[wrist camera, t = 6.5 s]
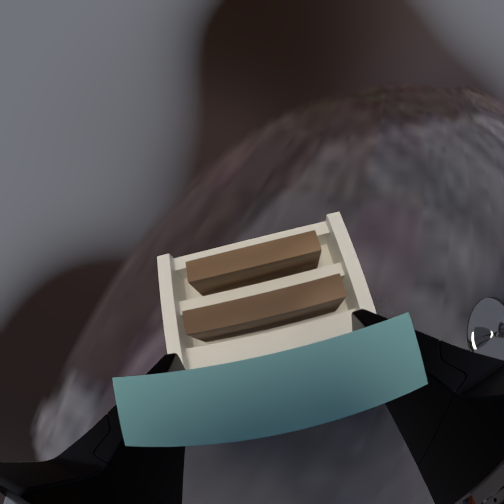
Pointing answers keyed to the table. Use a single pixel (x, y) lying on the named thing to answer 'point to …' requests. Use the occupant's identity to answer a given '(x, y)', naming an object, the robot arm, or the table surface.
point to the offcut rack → (271, 340)
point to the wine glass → (487, 328)
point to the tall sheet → (272, 389)
